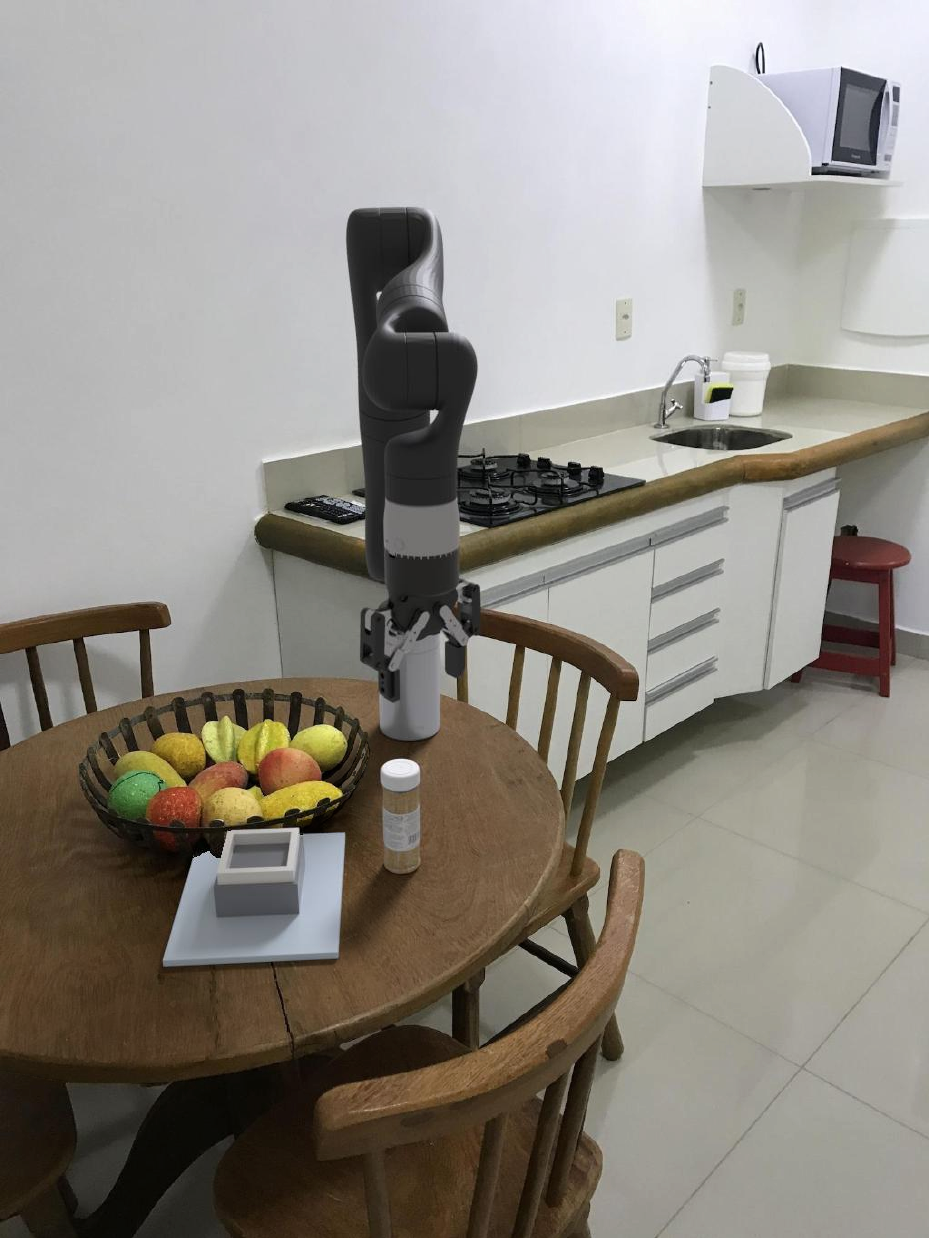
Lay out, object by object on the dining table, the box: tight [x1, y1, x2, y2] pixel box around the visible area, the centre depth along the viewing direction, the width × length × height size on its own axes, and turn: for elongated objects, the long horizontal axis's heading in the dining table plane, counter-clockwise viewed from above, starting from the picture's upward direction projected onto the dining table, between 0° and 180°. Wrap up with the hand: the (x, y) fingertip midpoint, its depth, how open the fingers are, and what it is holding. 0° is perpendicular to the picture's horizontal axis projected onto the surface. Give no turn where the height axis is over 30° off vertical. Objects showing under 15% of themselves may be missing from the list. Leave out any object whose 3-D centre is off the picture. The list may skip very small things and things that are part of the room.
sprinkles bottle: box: [380, 758, 421, 875], centre depth 116 cm, size 5×5×13 cm
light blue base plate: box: [162, 827, 346, 968], centre depth 111 cm, size 22×18×6 cm
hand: (423, 687), depth 103 cm, fingers open, 8 cm apart
